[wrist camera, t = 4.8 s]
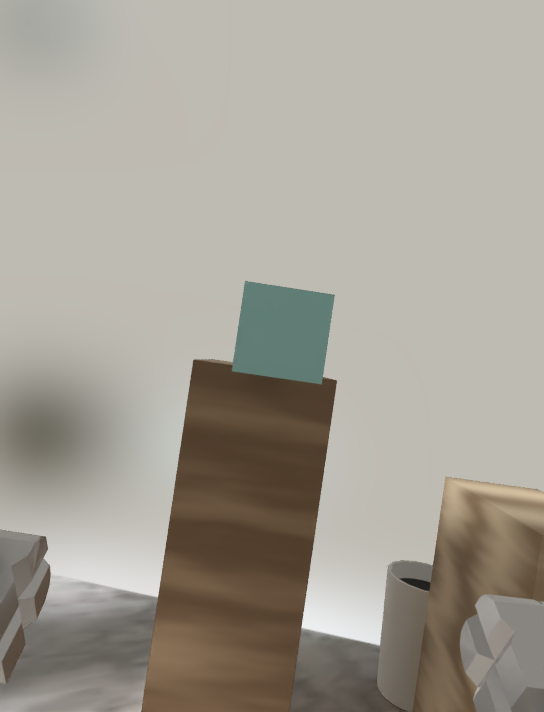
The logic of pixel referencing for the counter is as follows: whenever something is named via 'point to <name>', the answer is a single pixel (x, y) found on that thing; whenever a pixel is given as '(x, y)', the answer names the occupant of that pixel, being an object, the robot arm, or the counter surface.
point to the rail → (283, 332)
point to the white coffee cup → (403, 630)
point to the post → (239, 542)
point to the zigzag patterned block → (475, 578)
